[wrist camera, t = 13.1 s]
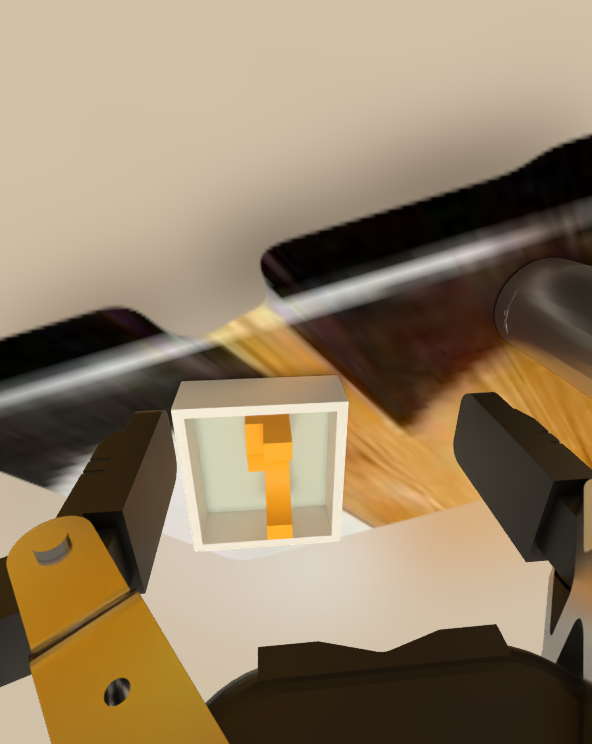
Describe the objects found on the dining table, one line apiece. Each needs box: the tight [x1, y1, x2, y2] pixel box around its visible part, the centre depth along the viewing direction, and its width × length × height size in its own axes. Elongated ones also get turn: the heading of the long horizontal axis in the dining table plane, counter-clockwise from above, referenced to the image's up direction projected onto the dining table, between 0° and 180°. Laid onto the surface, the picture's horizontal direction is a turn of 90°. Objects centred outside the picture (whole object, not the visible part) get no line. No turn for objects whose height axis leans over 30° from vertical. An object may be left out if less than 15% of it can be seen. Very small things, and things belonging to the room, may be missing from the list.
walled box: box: [171, 375, 349, 552], centre depth 43 cm, size 16×18×6 cm
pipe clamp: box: [245, 414, 293, 540], centre depth 42 cm, size 12×4×6 cm, turn 0°
